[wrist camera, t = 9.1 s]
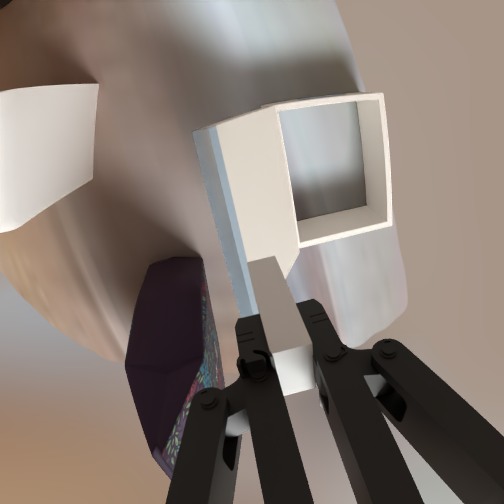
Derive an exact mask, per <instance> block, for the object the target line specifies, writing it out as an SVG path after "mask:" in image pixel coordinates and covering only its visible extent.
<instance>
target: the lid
mask: <svg viewBox="0 0 504 504" xmlns="http://www.w3.org/2000/svg"><path fill="white" fill-rule="evenodd" d="M192 134H193V138H194V142H195V146H196V150H197V154H198V158H199V162H200V166H201V170H202V174H203V178H204V182H205V186H206V190H207V194H208V198H209V202H210V205H211V209H212V213H213V217H214V221H215V225H216V228H217V232H218V236H219V240H220V243H221V247H222V251H223V254H224V258H225V262H226V265H227V269H228V273H229V276H230V280H231V284H232V287H233V291H234V294H235V298H236V302H237V305H238V309H239V312H240V316H241V318H243V317H247V316H251V315H255V314H259V311H258V308H257V304H256V300H255V295H254V291H253V287H252V283H251V279H250V274H249V270H248V266H247V262H250V261H254V260H258V259H262V258H267V257H271V256H275V257H276V259H277V261H278V264H279V266H280V268H281V271H282V273H283V275H284V278H285V279H286V277H287V275H288V273H289V271H290V270H291V268H292V266H293V264H294V262H295V260H296V258H297V256H298V255H299V246H298V239H297V232H296V225H295V218H294V212H293V206H292V199H291V193H290V187H289V181H288V175H287V169H286V163H285V157H284V152H283V146H282V140H281V135H280V129H279V124H278V119H277V114H276V108H275V106H269V107H263V108H260V109H257V110H253V111H250V112H247V113H244V114H241V115H238V116H235V117H232V118H229V119H226V120H223V121H220V122H217V123H214V124H211V125H209V126H206V127H203V128H200V129H198V130H195V131H192Z"/></svg>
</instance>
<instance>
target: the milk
mask: <svg viewBox="0 0 504 504" xmlns="http://www.w3.org/2000/svg"><path fill="white" fill-rule="evenodd" d="M98 89H99V84H69V85H51V86H38V87H27V88H18V89H11V90H4V91H0V233H2V232H7V231H11V230H14V229H16V228H18V227H20V226H22V225H23V224H24V223H26V222H27V221H29V220H30V219H32V218H33V217H34V216H36V215H37V214H39V213H40V212H42V211H43V210H45V209H46V208H48V207H49V206H51V205H52V204H54V203H55V202H57V201H58V200H60V199H61V198H63V197H64V196H66V195H68V194H69V193H71V192H72V191H74V190H76V189H77V188H79V187H81V186H82V185H84V184H85V183H87V182H89V181H90V180H92V179H93V156H94V135H95V120H96V108H97V98H98Z"/></svg>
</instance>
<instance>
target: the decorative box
mask: <svg viewBox="0 0 504 504" xmlns="http://www.w3.org/2000/svg"><path fill="white" fill-rule="evenodd" d="M125 370H126V374H127V378H128V382H129V385H130V389H131V392H132V396H133V399H134V403H135V406H136V409H137V412H138V416H139V419H140V422H141V425H142V428H143V431H144V434H145V437H146V440H147V443H148V446H149V449H150V451H151V454H152V457H153V458H154V459H155V461H156V462H157V463H158V464H159V466H160V467H161V468H162V470H163V471H164V472H165V473H166V475H167V476H168V477H169V478H170V479H172V475H173V471H174V467H175V463H176V459H177V455H178V451H179V447H180V443H181V439H182V435H183V431H184V427H185V423H186V419H187V416H188V412H189V408H190V404H191V400H192V398H193V396H194V395H195V394H196V393H197V392H198V391H200V390H202V389H204V388H208V387H215V388H219V389H220V390H222V389H224V388H225V382H224V376H223V369H222V362H221V356H220V349H219V342H218V337H217V332H216V327H215V322H214V317H213V312H212V307H211V301H210V296H209V291H208V286H207V280H206V275H205V269H204V263H203V259H202V258H188V257H173V258H170V259H167V260H164V261H161V262H158V263H155V264H152V265H150V266H149V268H148V271H147V274H146V276H145V279H144V282H143V285H142V288H141V290H140V293H139V296H138V299H137V302H136V305H135V309H134V314H133V319H132V325H131V330H130V335H129V341H128V347H127V353H126V359H125Z"/></svg>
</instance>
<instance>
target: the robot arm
mask: <svg viewBox="0 0 504 504" xmlns="http://www.w3.org/2000/svg"><path fill="white" fill-rule="evenodd" d="M10 1H12V0H0V9H1V8H2V7H4V6H5V5H7V4H8V3H9V2H10ZM247 266H248V270H249V274H250V279H251V283H252V287H253V291H254V295H255V300H256V304H257V308H258V311H259V314H255V315H251V316H247V317H243V318H239V319H238V320H237V323H236V326H235V331H236V337H237V343H238V350H239V357H238V359H237V368H238V371H239V373H240V376H239V378H238V380H237V381H235V382H234V383H233V384H231V385H230V386H228V387H226V388H224V389H222V390H220V389H219V388H215V387H208V388H204V389H202V390H200V391H198V392H197V393H196V394H195V395H194V396H193V398H192V400H191V404H190V408H189V412H188V416H187V419H186V423H185V427H184V431H183V435H182V439H181V443H180V447H179V451H178V455H177V459H176V463H175V467H174V471H173V475H172V479H171V483H170V487H169V491H168V496H167V499H166V504H233V498H234V492H235V484H236V477H237V470H238V462H239V455H240V447H241V440H242V433H244V432H246V431H248V430H250V431H251V436H252V442H253V447H254V453H255V458H256V463H257V468H258V474H259V479H260V484H261V489H262V494H263V499H264V504H314V502H313V498H312V495H311V491H310V489H309V485H308V481H307V477H306V474H305V471H304V467H303V463H302V460H301V456H300V453H299V449H298V446H297V442H296V438H295V435H294V431H293V428H292V424H291V421H290V417H289V414H288V410H287V406H286V403H285V399H284V396H285V395H289V394H293V393H297V392H300V391H304V390H308V389H311V388H314V387H316V383H317V386H318V389H319V397H320V407H323V408H324V411H325V414H326V417H327V419H328V422H329V425H330V428H331V430H332V433H333V436H334V438H335V442H336V444H337V447H338V450H339V453H340V455H341V458H342V461H343V464H344V466H345V470H346V472H347V475H348V478H349V481H350V484H351V487H352V489H353V492H354V495H355V498H356V501H357V504H424V502H423V500H422V498H421V495H420V493H419V491H418V489H417V486H416V484H415V482H414V480H413V478H412V475H411V473H410V471H409V469H408V467H407V465H406V462H405V460H404V458H403V456H402V454H401V452H400V449H399V447H398V445H397V443H396V441H395V439H394V437H393V435H392V433H391V431H390V428H389V427H388V424H387V422H386V420H385V418H384V416H383V414H384V415H385V416H386V417H387V418H388V420H389V421H390V422H391V423H392V424H393V425H394V426H395V427H396V428H397V429H398V431H399V432H400V433H401V434H402V435H403V436H404V437H405V439H406V440H407V441H408V442H409V443H410V444H411V445H412V446H413V448H414V449H415V450H416V451H417V452H418V453H419V454H420V455H421V456H422V458H423V459H424V460H425V461H426V462H427V463H428V464H429V465H430V466H431V467H432V469H433V470H434V471H435V472H436V473H437V474H438V475H439V476H440V478H441V479H442V480H443V481H444V482H445V483H446V484H447V485H448V486H449V487H450V489H451V490H452V491H453V492H454V493H455V494H456V495H457V496H458V497H459V499H460V500H461V501H462V502H463V503H464V504H504V437H503V436H502V435H501V434H500V433H499V432H498V431H497V430H496V429H495V428H494V427H493V426H492V425H491V424H490V423H489V422H488V421H487V420H486V419H484V418H483V417H482V416H481V415H480V414H479V413H478V412H477V411H476V410H475V409H474V408H473V407H472V406H470V405H469V404H468V403H467V402H466V401H465V400H464V399H463V398H462V397H461V396H460V395H459V394H457V393H456V392H455V391H454V390H453V389H452V388H451V387H450V386H449V385H448V384H447V383H445V382H444V381H443V380H442V379H441V378H440V377H439V376H437V374H435V373H434V372H433V371H432V370H431V369H430V368H429V367H428V366H427V365H425V364H424V363H423V362H422V361H421V360H420V359H419V358H417V357H416V356H415V355H414V354H413V353H412V352H411V351H410V350H409V349H407V348H406V347H405V346H404V345H403V344H402V343H400V342H399V341H397V340H394V339H383V340H381V341H378V342H377V343H375V345H373V348H372V349H365V350H355V349H351V348H349V347H347V346H346V345H344V344H343V343H342V342H341V340H340V339H339V337H338V335H337V333H336V331H335V329H334V327H333V325H332V323H331V321H330V319H329V317H328V315H327V314H326V312H325V310H324V308H323V306H322V304H321V303H319V302H318V301H316V300H315V299H311V300H307V301H303V302H300V303H295V301H294V299H293V296H292V294H291V292H290V289H289V287H288V285H287V282H286V280H285V278H284V275H283V273H282V271H281V268H280V266H279V264H278V261H277V259H276V257H275V256H271V257H267V258H262V259H258V260H254V261H250V262H247ZM382 413H383V414H382Z"/></svg>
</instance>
